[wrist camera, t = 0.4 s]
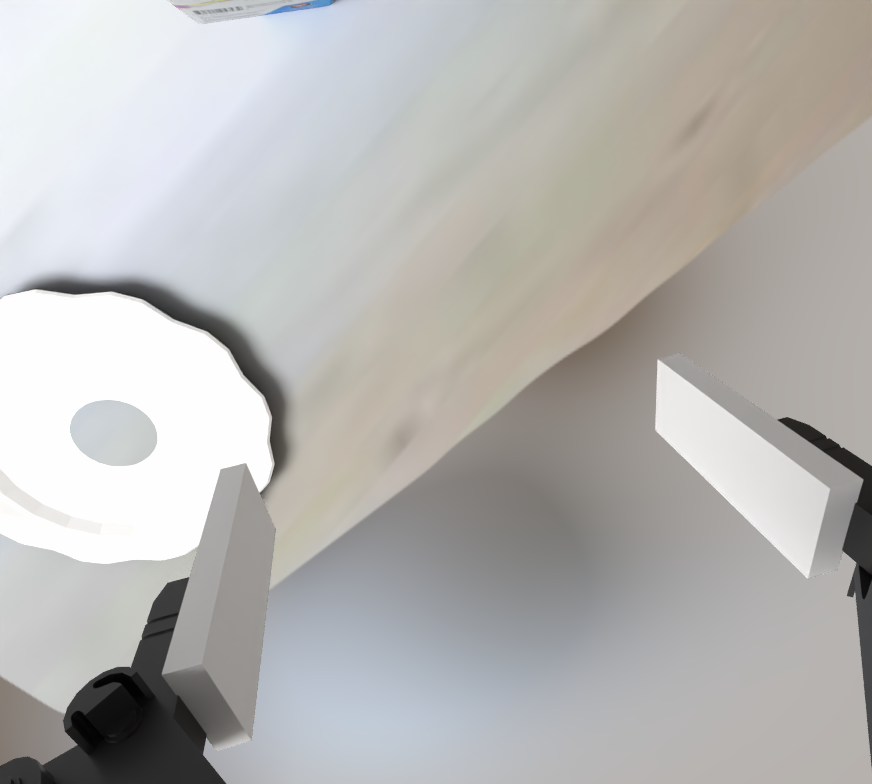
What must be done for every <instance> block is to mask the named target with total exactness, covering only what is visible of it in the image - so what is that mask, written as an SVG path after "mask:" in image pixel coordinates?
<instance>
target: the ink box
mask: <svg viewBox="0 0 872 784" xmlns="http://www.w3.org/2000/svg"><path fill="white" fill-rule="evenodd" d="M167 1H168V2H170V3H171V4H172V5H174V6H175V7H176V8H178V9H179V10H181V11H182V12H183V13H185V14H186V15H187V16H188V17H190V18H191V19H192V20H194V21H195V22H197V23H198V24H204V23H212V22H219V21H226V20H233V19H240V18H246V17H253V16H260V15H268V14H275V13H281V12H288V11H295V10H303V9H309V8H316V7H323V6H328V5H331V4H332V3H333V0H167Z"/></svg>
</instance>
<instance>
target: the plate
mask: <svg viewBox="0 0 872 784" xmlns="http://www.w3.org/2000/svg"><path fill="white" fill-rule="evenodd" d="M107 399H108V400H118V401H122V402H125V403H129V404H131V405H133V406H135V407H137V408H139V409H140V410H142V411H143V412H144V413H145V414H146V415H147V416H149V417H150V419H151V420H152V422H153V423H154V425H155V427H156V430H157V433H158V442H157V445H156V448H155V450H154V451H153V453H152V454H151V455H150V456H149V457H148V458H147V459H145V460H144V461H142V462H140V463H137V464H135V465H131V466H123V467H119V466H109V465H105V464H101V463H98V462H96V461H94V460H92V459H90V458H88V457H87V456H86V455H84V454H83V453H82V452H81V451H80V450H79V449H78V448H77V447H76V445H75V444H74V442H73V440H72V437H71V435H70V423H71V420H72V417H73V416H74V414H75V413H76V411H77V410H78V409H80V408H81V407H83V406H84V405H85V404H88V403H91V402H94V401H98V400H107ZM271 422H272V414H271V412H270V409H269V406H268V404H267V401H266V399H265V396H264V395H263V394H262V393H261V392H260V390H259V389H258V388H257V387H256V386H255V385H254V384H253V383H252V382H251V381H250V380H249V379H248V378H247V377H246V376H245V375H244V374H243V372H242V370H241V369H240V367H239V365H238V363H237V361H236V360H235V358H234V356H233V354H232V353H231V351H230V349H229V348H228V347H227V346H226V345H224V344H223V343H222V342H221V341H219V340H218V339H217V338H216V337H215V336H213V335H212V334H211V333H210V332H208V331H206V330H204V329H201V328H198V327H195V326H193V325H190V324H187V323H185V322H182V321H179V320H176V319H174V318H172V317H171V316H169V315H168V314H166V313H165V312H163V311H162V310H160V309H158V308H157V307H155V306H154V305H152V304H151V303H149V302H148V301H146V300H144V299H142V298H138V297H134V296H130V295H126V294H122V293H118V292H114V291H108V292H97V293H85V294H70V293H63V292H56V291H49V290H42V289H33V290H28V291H24V292H19V293H14V294H10V295H6V296H4V297H3V298H2V299H0V533H1V534H3V535H5V536H7V537H9V538H11V539H13V540H15V541H17V542H19V543H21V544H25V545H30V546H35V547H40V548H45V549H50V550H54V551H57V552H59V553H62V554H64V555H67V556H69V557H72V558H75V559H77V560H80V561H85V562H94V563H103V564H109V563H115V562H121V561H128V560H134V559H135V560H166V559H170V558H174V557H178V556H182V555H185V554H187V553H188V552H190V551H191V550H193V549H194V548H196V547H197V546H199V542H200V539H201V535H202V532H203V528H204V525H205V521H206V518H207V514H208V511H209V507H210V504H211V500H212V497H213V494H214V490H215V487H216V483H217V480H218V476H219V473H220V469H223V468H227V467H231V466H235V465H239V464H243V463H247V466H248V468H249V470H250V473H251V475H252V477H253V479H254V482H255V484H256V486H257V488H258V491H259V493H260V492H261V491H262V490H263V489H264V488H265V487H266V486H267V485H268V483H269V482H270V479H271V476H272V472H273V468H274V465H275V462H274V457H273V453H272V449H271V444H270V432H271Z"/></svg>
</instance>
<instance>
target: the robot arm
mask: <svg viewBox="0 0 872 784" xmlns="http://www.w3.org/2000/svg"><path fill="white" fill-rule="evenodd" d="M657 369H658V370H657V398H656V427H655V430H656V431H657V432H658V433H659V434H660V435H661V436H662V437H663V438H664V439H665V440H666V441H667V442H668V443H669V444H670V445H671V446H672V447H673V448H674V449H675V450H676V451H677V452H678V453H680V455H682V456H683V457H684V458H685V459H686V460H687V461H688V462H689V463H690V464H691V465H692V466H693V467H694V468H695V469H696V470H697V471H698V472H699V473H700V474H701V475H702V476H703V477H704V478H705V479H706V480H707V481H708V482H709V483H710V484H711V485H712V486H713V487H714V488H715V489H717V491H718V492H719V493H720V494H721V495H722V496H724V497H725V498H726V499H727V500H728V501H729V502H730V503H731V504H732V505H733V506H734V507H735V508H736V509H737V510H738V511H739V512H740V513H741V514H742V515H743V516H744V517H745V518H746V519H747V520H748V521H749V522H750V523H751V524H752V525H753V526H754V527H755V528H756V529H757V530H758V531H759V532H761V533H762V534H763V535H764V536H765V537H766V538H767V539H768V540H769V541H770V542H771V543H772V544H773V545H774V546H775V547H776V548H777V549H778V550H779V551H780V552H781V553H782V554H783V555H784V556H785V557H786V558H787V559H788V560H789V561H790V562H791V563H792V564H793V565H794V566H795V567H796V568H798V570H800V571H801V572H802V573H803V574H804V575H805V576H806V577H807V578H812V577H816V576H819V575H822V574H826V573H829V572H833V571H836V570H838V567H839V564H840V560H841V557H842V553H843V551H844V552H845V553H846V554H847V555H849V556H850V557H851V558H852V559H853V560H854V561H855V562H856V563H857V564H856V567H855V570H854V574H853V577H852V581H851V583H850V586H849V590H848V594H847V596H850V597H853V595H854V592H855V593H856V603H857V614H858V625H859V636H860V646H861V657H862V667H863V679H864V690H865V700H866V710H867V722H868V733H869V743H870V754H871V765H872V466H871V465H869V464H868V463H866V462H864V461H863V460H862V459H860V458H859V457H857V456H856V455H854V454H852V453H851V452H849V451H848V450H846V449H845V448H841V447H840V445H839V444H837V443H836V442H834V441H832V440H831V439H827V438H826V436H825V435H823V434H822V433H820V432H819V431H817V430H816V429H814V428H813V427H811V426H810V425H807V424H805V423H802V422H799V421H796V420H793V419H791V418H788V417H786V418H782V419H778V420H776V419H774V418H773V417H772V416H771V415H769V414H768V413H766V412H765V411H763V410H762V409H760V408H759V407H758V406H756V405H755V404H753V403H752V402H750V401H749V400H747V399H746V398H744V397H743V396H741V395H740V394H739V393H737V392H736V391H734V390H733V389H731V388H730V387H728V386H727V385H725V384H724V383H723V382H721V381H720V380H718V379H717V378H715V377H714V376H713V375H711V374H710V373H708V372H707V371H705V370H704V369H702V368H701V367H700V366H698V365H697V364H695V363H693V362H692V361H691V360H689V359H688V358H686V357H685V356H683V355H682V354H681V353H680V354H676V355H672V356H668V357H664V358H660V359H658V368H657ZM275 532H276V529H275V527H274V524H273V522H272V520H271V518H270V515H269V513H268V511H267V509H266V506H265V504H264V502H263V500H262V497H261V495H260V493H259V491H258V488H257V486H256V484H255V482H254V479H253V477H252V475H251V473H250V470H249V468H248V466H247V463H243V464H239V465H235V466H231V467H227V468H223V469H220V473H219V476H218V480H217V483H216V487H215V490H214V494H213V497H212V500H211V504H210V507H209V511H208V514H207V518H206V521H205V525H204V528H203V532H202V535H201V539H200V542H199V546H198V549H197V553H196V556H195V560H194V563H193V567H192V570H191V574H190V577H188V578H184V579H181V580H177V581H173V582H169V583H167V585H166V586H165V587H164V589H163V590H162V591H161V593H160V594H159V595H158V597H157V598H156V599H155V601H154V602H153V605H152V608H151V611H150V614H149V617H148V620H147V624H146V625H145V628H144V631H143V634H142V640H140V643H139V646H138V648H137V651H136V654H135V657H134V660H133V663H132V666H131V668H130V667H116V668H114V669H111V670H108V671H105V672H103V673H101V674H100V675H98V676H97V677H95V678H94V679H92V680H91V681H89V682H88V683H87V684H86V685H85V686H84V687H83V688H82V689H81V690H80V691H79V692H78V693H77V694H76V696H75V697H74V699H73V700H72V701H71V703H70V704H69V706H68V707H67V711H66V714H65V717H64V720H63V722H64V728H65V732H66V733H67V734H68V735H69V736H70V737H71V738H72V739H73V740H74V741H75V742H76V743H77V744H78V745H77V746H75V747H74V748H72V749H70V750H69V751H67V752H65V753H63V754H61V755H60V756H58V757H57V758H54V759H53V760H51V761H49V762H48V763H46V764H44V765H41V764H40V763H39V762H38V761H37V760H35V759H32V758H30V757H22V758H16V759H13V760H11V761H9V762H7V763H5V764H3V765H1V766H0V784H226V783H225V782H224V781H223V779H222V778H221V777H220V776H219V774H218V773H217V772H216V771H215V769H214V768H213V767H212V766H211V765H210V763H209V762H208V761H207V760H206V758H205V757H204V756H203V751H204V746H205V741H206V737H207V739H208V740H209V742H210V743H211V744H212V746H213V747H214V748H215V750H216V751H217V750H221V749H225V748H228V747H232V746H235V745H238V744H242V743H245V742H249V741H251V740H252V733H253V724H254V715H255V706H256V697H257V689H258V680H259V672H260V662H261V654H262V646H263V636H264V628H265V620H266V610H267V602H268V593H269V585H270V576H271V567H272V559H273V550H274V541H275Z"/></svg>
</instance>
